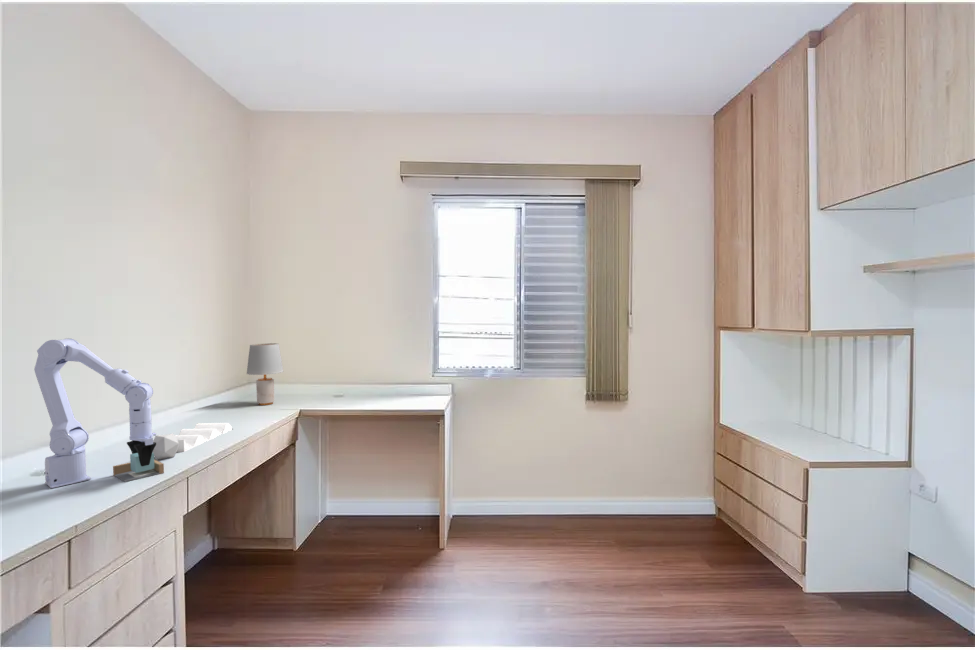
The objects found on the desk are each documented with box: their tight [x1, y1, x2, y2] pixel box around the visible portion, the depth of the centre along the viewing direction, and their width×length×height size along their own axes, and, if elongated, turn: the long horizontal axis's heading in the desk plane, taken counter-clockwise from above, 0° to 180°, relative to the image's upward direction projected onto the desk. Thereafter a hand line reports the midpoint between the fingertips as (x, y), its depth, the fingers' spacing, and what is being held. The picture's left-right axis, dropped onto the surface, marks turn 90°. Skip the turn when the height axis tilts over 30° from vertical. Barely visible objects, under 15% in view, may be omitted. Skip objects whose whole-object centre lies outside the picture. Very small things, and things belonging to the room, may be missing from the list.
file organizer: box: [174, 422, 234, 453], centre depth 199 cm, size 13×35×5 cm, turn 0°
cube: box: [129, 453, 155, 473], centre depth 156 cm, size 5×5×5 cm
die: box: [152, 433, 179, 461], centre depth 175 cm, size 8×9×10 cm
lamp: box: [246, 342, 284, 406], centre depth 276 cm, size 19×19×34 cm
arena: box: [112, 459, 165, 483], centre depth 156 cm, size 10×11×3 cm
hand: (142, 463), depth 156 cm, fingers closed on cube, 5 cm apart
